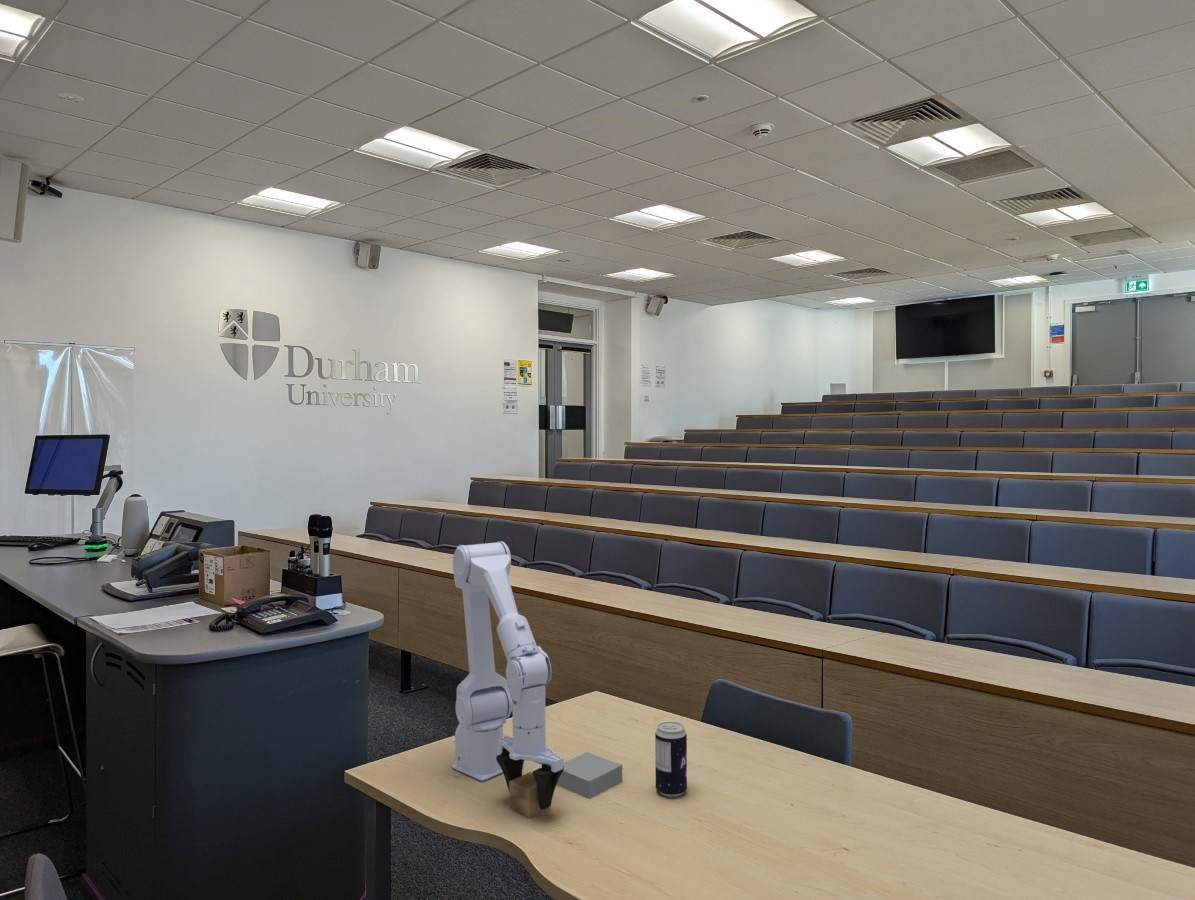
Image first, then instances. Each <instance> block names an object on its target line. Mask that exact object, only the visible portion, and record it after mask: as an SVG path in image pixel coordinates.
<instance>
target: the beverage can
mask: <svg viewBox="0 0 1195 900" xmlns="http://www.w3.org/2000/svg"><path fill="white" fill-rule="evenodd" d="M656 726H657V728H656V730H655V732H654V736H655V737H654V738H655V739H654V740H655V741H654V742H655V743H654V744H655V746H654V748H655V749H654V750H655V753H654V754H655V760H654V761H655V789H656V790H657V791H658V792H659V793H660V795H662V796H663V797H667V798H678V797H680V796H682V795H683V794H684V792H686V791H687V789H688V762H687V761H688V756H687V755H688V753H687V752H688V746H687V745H688V744H687V743H688V740H687V739H688V738H687V737H688V735H687V732H686V730H685V725H684V724H683V723H680V722H677V721H663V722H660V723H659V724H657V725H656Z"/></svg>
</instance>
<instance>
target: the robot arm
mask: <svg viewBox="0 0 1195 900" xmlns="http://www.w3.org/2000/svg"><path fill="white" fill-rule="evenodd" d="M511 555H512V554H511V551H510V548H509V546H508V545H507V543H506V542H504V541H502V540H501V541H497V542H489V543H477V544H476V543H475V544H466V545H464V544H459V545H458V546H457V548H456V549H455V551H454V553H453V556H452V570H453V579H454V586H455V588H458V589H461V592H462V600H463V612H464V623H465V634H466V635H465V636H466V647H467V648H466V649H467V659H468V660H467V661H468V670H469V673H468V675H466V677H465V678H464V679H463V680H462V681H461V682H460V683H458V685H457V687H456V700H455V714H456V718H457V720H458V722H459V724H458V725H457V726H456V730H455V732H454V758H455V759H454V763H453V764H452V765H451V768H452V769H454V770H456V771H458V772H461V773H463V774H465V775H467V776H470V777H472V778H474V779H476V780H478V781H480V782H484V781H487V780H489V779H491V778H494V777H495V776H498V775H500V774H503V776H504V779H505V782H506V786H507V790H508V791H509V781H511V780H514V779H516V778H518V777H520V776H522V775H523V768H524V762H525V761H530V762H534V763H537V764H539V765H541V767H540V768H537V769H535V770H532V773H533V776H534V778H535V781H536V784H537V789H538V802H539V807H540V809H542V810H544V809H546V808H548V807H550V808H551V807H552V801H553V797H554V793H555V789H556V787H557V785H556V784H557V782H558V780H559V777H560V776H561V774H562V772H563V770H564V766H563V763H564V757H562V756H560V755H558V754H557V753H556V752H554V751H553V750H552V749H551V748H550V747H549V746H547V743H546V742H547V739H546V734H547V733H546V724H547V723H546V685H549V683H551V680H552V673H553V672H552V665H551V661H550V657H549V656H548V654H547V653H546V652H545V651H544V650H543V649H542V647H541V646H540V645H537V643H536V640H535V637H534V634H533V632H532V630H531V627H530V624H529V621H528V619H527V618H526V617H525V616H524V615H522V614H521V613H520V614H519V612H518V607H517V605H516V601H515V596H514V593H513V590H512V586H511V583H510V579H509V575H510V572H511V567H512V558H511V557H512V556H511ZM490 602H491V605H492V607H493V610H494V611H495V614H496V616H497V618H498V619H499V623H498V625H497V626H496V634H497V636H498V638H499V641H500V644H501V647H502V649H503V652H504V656H505V658H506V662H507V664H506V668H505V677H506V678H505V677H504V676H503V675H501V674H499V673H498V672H496V667H495V666H496V665H495V655H494V644H493V632H492V621H491V612H490V610H491V609H490ZM511 714H512V737H510V736H507V735H505V736H504V724H505V725H506V724H507V719H508V718H510V716H511Z"/></svg>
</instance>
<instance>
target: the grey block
mask: <svg viewBox="0 0 1195 900" xmlns="http://www.w3.org/2000/svg"><path fill="white" fill-rule="evenodd" d="M563 766H564V770H563V772H562V774H561V776H560V777H559V780H558V782H557V784H556V786H558V787H561V788H564V789H566V790H568V791H570V792H572V793H575V794H577V795H580V796H581V797H585V798H587V799H589V800H590V799H592V798H594V797H596V796H597V795H600V794H601V793H603V792H605V791H607V790H609V789H611V788H613V787H615V786H617V785H618V783H619V784H622V783H623V765H622V764H621V763H618V762H615V761H612V760H610V759H608V758H604V757H601V756H599V755H596V754H594V753H590V752H589V751H586V752H584V753H582V754H580V755H577V756H574V757H573V758H570V759H569V760H566V761H563ZM595 795H596V796H595Z"/></svg>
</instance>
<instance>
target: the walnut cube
mask: <svg viewBox="0 0 1195 900" xmlns="http://www.w3.org/2000/svg"><path fill="white" fill-rule="evenodd" d="M508 793H509V810H510V811H513V812H515V813H517V814H518V815H521V816H523V817H525V818H527V819H528V820H530V819H531V818H533V817H535V816H538V815H540V814H541V813H543V812H546V811H547V810H549V809H551V806H550V807H548V808H546V809H544V810H542V809H540V807H539V802H538V789H537V784H536V781H535V778H534V776H533V771H532V772H531V771H529V772H527V773H525V774H522V776H520V777H518V778H516V779H514V780H511V781H509V790H508Z"/></svg>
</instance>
